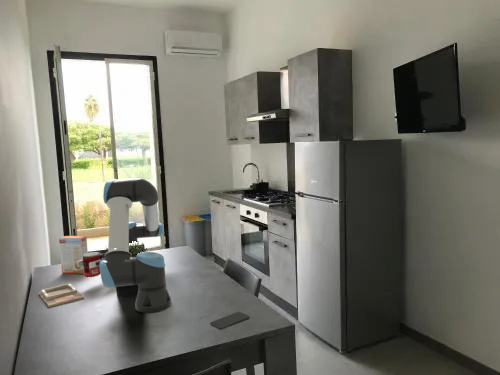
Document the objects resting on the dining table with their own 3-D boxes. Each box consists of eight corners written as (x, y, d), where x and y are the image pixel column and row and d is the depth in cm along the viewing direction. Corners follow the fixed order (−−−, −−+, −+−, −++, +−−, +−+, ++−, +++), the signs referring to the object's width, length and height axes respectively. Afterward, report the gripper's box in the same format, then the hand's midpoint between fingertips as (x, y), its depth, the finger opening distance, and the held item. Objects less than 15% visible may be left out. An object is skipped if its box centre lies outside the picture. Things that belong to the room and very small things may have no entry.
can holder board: (84, 298, 184) (83, 293, 184) (48, 307, 175) (48, 302, 175) (71, 287, 201) (71, 282, 201) (38, 294, 192) (38, 289, 192)
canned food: (103, 272, 203) (102, 251, 202) (96, 277, 195) (94, 255, 195) (89, 272, 204) (87, 251, 203) (81, 277, 196) (79, 255, 195)
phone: (208, 322, 153) (238, 311, 162) (208, 324, 153) (238, 313, 162) (219, 328, 147) (250, 316, 157) (219, 331, 147) (250, 318, 157)
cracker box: (89, 271, 227) (87, 235, 225) (83, 274, 222) (80, 238, 220) (68, 270, 231) (65, 235, 229) (61, 273, 225) (58, 237, 223)
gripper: (133, 262, 211) (99, 274, 191) (105, 258, 220) (70, 270, 200) (132, 248, 210) (98, 259, 190) (104, 245, 220) (68, 255, 199)
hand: (83, 264), depth 195 cm, fingers closed on canned food, 8 cm apart
